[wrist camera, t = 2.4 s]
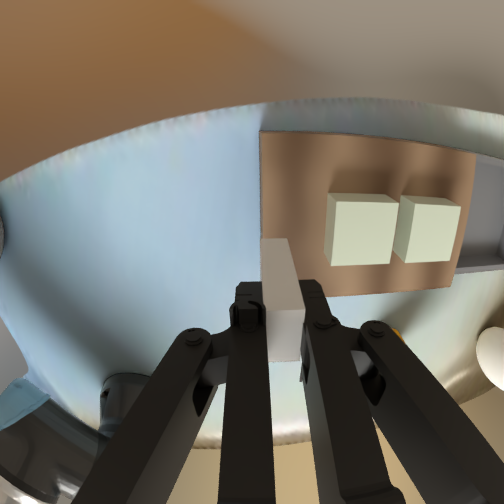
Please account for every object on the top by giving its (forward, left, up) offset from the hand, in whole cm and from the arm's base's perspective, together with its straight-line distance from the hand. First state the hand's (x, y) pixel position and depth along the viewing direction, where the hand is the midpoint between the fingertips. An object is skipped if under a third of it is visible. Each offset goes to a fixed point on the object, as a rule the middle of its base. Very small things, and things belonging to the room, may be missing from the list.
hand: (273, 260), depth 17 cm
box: (+27, 0, -13) cm, 30 cm away
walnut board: (+10, 0, -13) cm, 16 cm away
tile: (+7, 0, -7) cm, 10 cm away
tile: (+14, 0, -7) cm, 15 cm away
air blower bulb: (+39, -22, -13) cm, 47 cm away
